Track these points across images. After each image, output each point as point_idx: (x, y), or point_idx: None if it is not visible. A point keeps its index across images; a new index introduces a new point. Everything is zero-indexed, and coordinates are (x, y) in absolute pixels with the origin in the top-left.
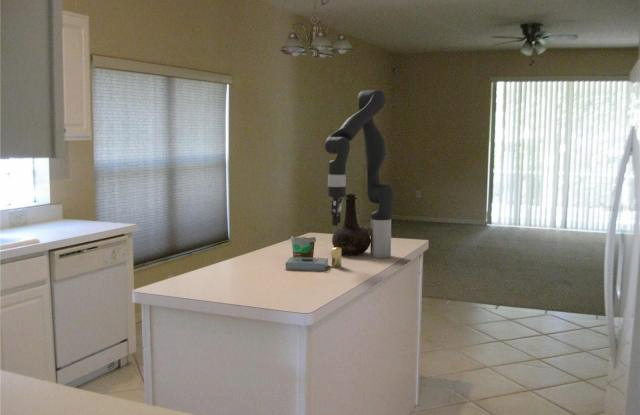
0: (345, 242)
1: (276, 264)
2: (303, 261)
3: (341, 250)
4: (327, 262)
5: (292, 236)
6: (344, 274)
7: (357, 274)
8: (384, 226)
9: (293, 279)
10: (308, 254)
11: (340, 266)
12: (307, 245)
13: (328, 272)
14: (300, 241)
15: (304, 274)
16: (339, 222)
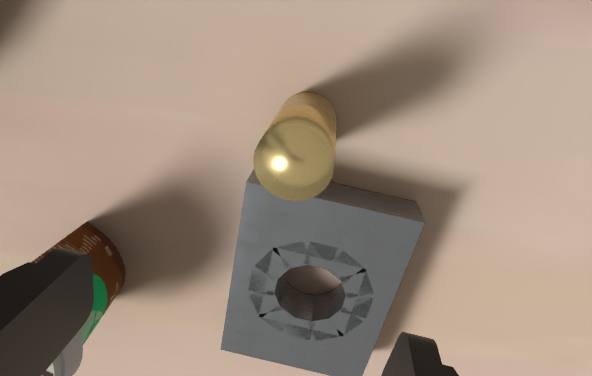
0: None
1: (243, 370)
2: (344, 313)
3: (304, 121)
4: None
5: None
6: (544, 98)
7: (573, 5)
8: None
9: (584, 347)
10: (99, 261)
11: (327, 101)
12: None
13: (460, 184)
14: (77, 357)
15: (483, 296)
16: (85, 262)
